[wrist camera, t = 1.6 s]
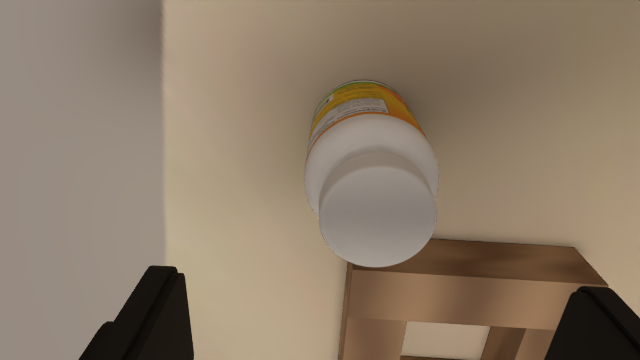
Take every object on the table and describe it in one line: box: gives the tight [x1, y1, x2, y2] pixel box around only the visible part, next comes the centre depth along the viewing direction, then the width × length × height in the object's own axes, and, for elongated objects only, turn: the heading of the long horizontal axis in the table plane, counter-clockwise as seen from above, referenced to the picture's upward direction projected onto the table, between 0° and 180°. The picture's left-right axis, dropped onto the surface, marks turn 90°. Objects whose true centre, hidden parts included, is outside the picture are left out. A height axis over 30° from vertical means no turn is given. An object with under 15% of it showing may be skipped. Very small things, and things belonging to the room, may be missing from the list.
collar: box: [338, 239, 609, 360], centre depth 27 cm, size 14×14×4 cm
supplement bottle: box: [304, 80, 439, 267], centre depth 18 cm, size 5×5×10 cm
